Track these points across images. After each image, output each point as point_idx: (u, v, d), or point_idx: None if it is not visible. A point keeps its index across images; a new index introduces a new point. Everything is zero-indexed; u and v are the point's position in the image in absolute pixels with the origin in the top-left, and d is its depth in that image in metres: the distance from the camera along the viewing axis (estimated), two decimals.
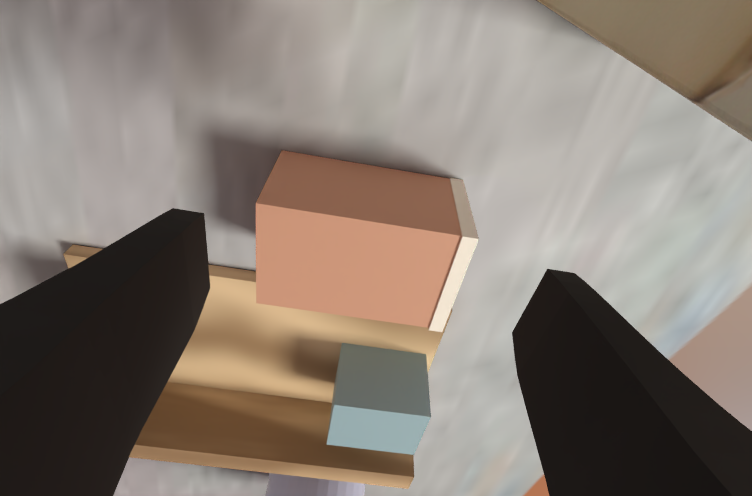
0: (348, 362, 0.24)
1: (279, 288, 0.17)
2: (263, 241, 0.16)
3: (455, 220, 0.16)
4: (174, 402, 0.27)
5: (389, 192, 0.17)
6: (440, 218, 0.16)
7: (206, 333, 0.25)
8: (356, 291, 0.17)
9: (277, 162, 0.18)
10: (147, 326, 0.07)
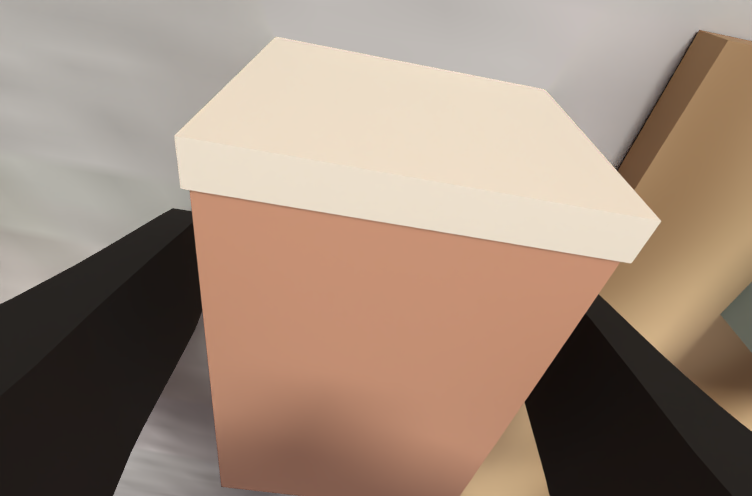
0: None
1: (411, 488, 0.09)
2: (300, 488, 0.09)
3: None
4: None
5: None
6: None
7: None
8: (425, 402, 0.07)
9: None
10: (148, 326, 0.07)
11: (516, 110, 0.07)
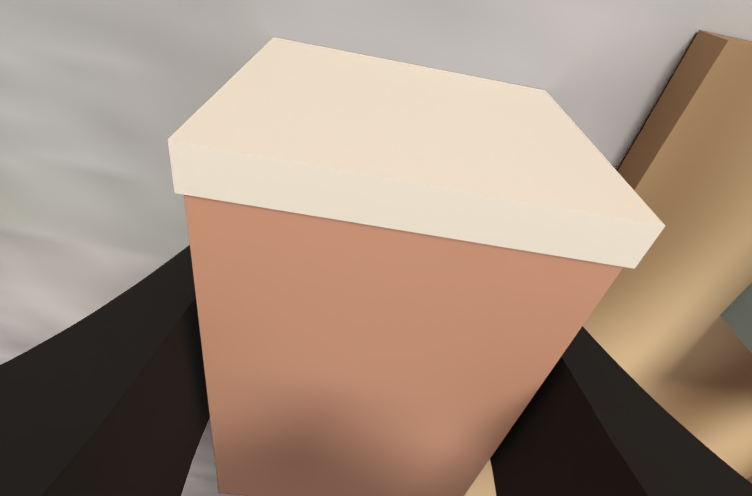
0: None
1: (411, 494, 0.09)
2: (298, 494, 0.09)
3: None
4: None
5: None
6: None
7: None
8: (424, 408, 0.07)
9: None
10: None
11: (516, 112, 0.07)
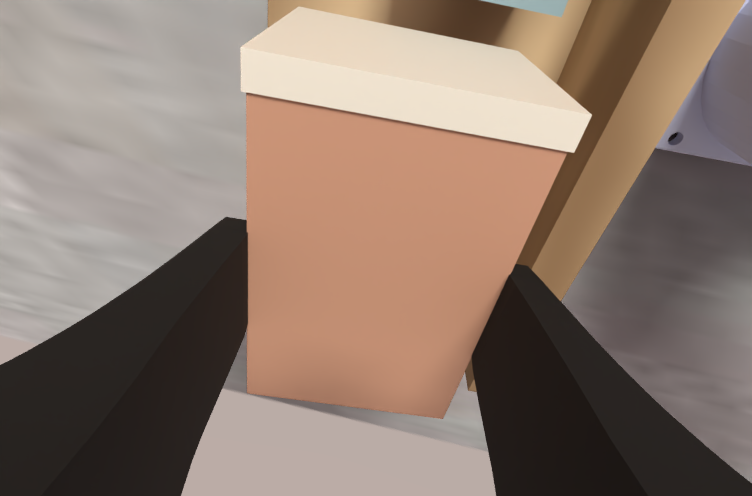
0: None
1: (411, 391, 0.10)
2: (315, 394, 0.11)
3: None
4: None
5: None
6: None
7: None
8: (422, 295, 0.09)
9: None
10: (211, 335, 0.07)
11: (492, 58, 0.08)
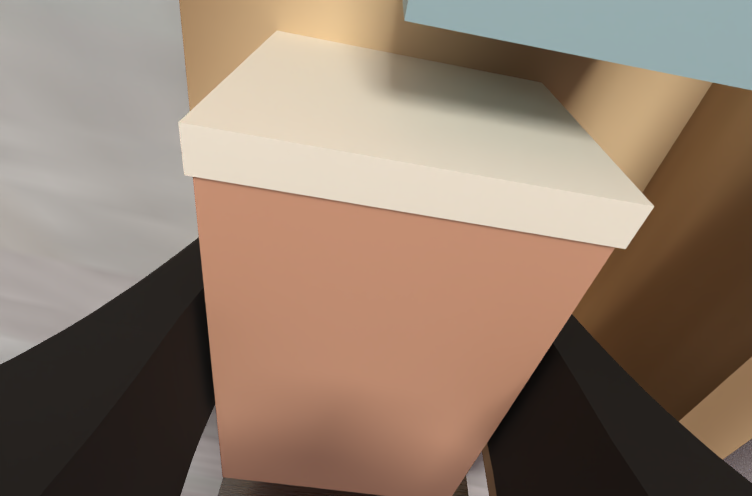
0: None
1: (411, 478, 0.09)
2: (300, 479, 0.09)
3: None
4: None
5: None
6: None
7: None
8: (424, 390, 0.07)
9: None
10: None
11: (513, 102, 0.07)
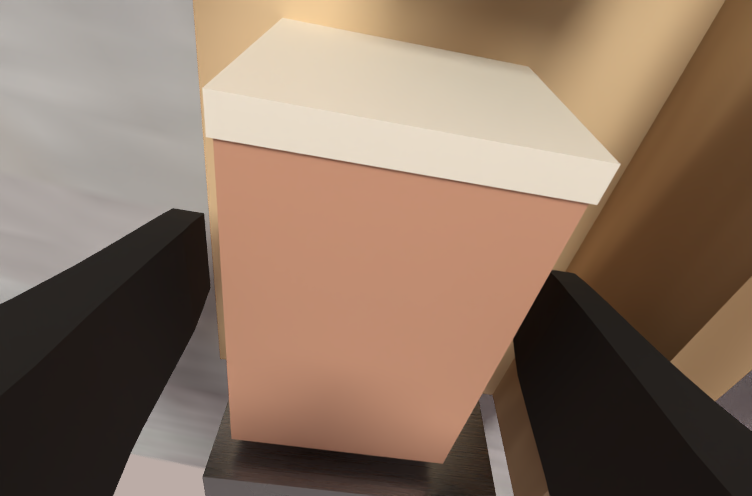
0: None
1: (408, 437, 0.10)
2: (304, 440, 0.10)
3: None
4: None
5: None
6: None
7: None
8: (419, 347, 0.08)
9: None
10: (147, 326, 0.07)
11: (500, 81, 0.07)
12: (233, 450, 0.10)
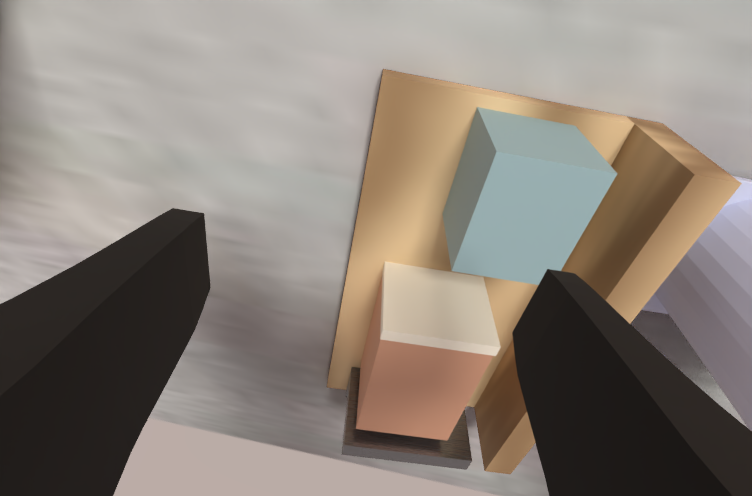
0: (448, 220, 0.18)
1: (432, 428, 0.22)
2: (387, 429, 0.23)
3: (381, 322, 0.19)
4: (503, 382, 0.25)
5: (372, 337, 0.22)
6: (378, 331, 0.19)
7: None
8: (439, 394, 0.20)
9: (360, 376, 0.25)
10: (147, 326, 0.07)
11: (469, 297, 0.20)
12: (354, 434, 0.23)
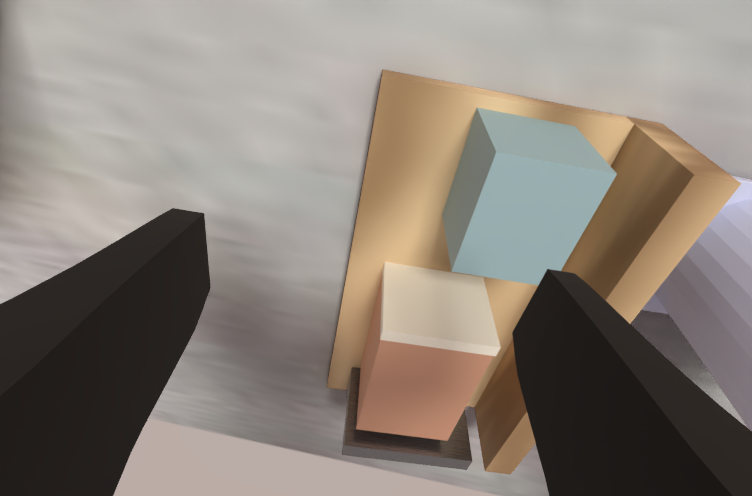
0: (448, 221, 0.18)
1: (432, 429, 0.22)
2: (387, 430, 0.23)
3: (381, 323, 0.19)
4: (503, 382, 0.25)
5: (372, 337, 0.22)
6: (378, 331, 0.19)
7: None
8: (439, 394, 0.21)
9: (360, 377, 0.25)
10: (147, 326, 0.07)
11: (469, 297, 0.20)
12: (354, 434, 0.23)
